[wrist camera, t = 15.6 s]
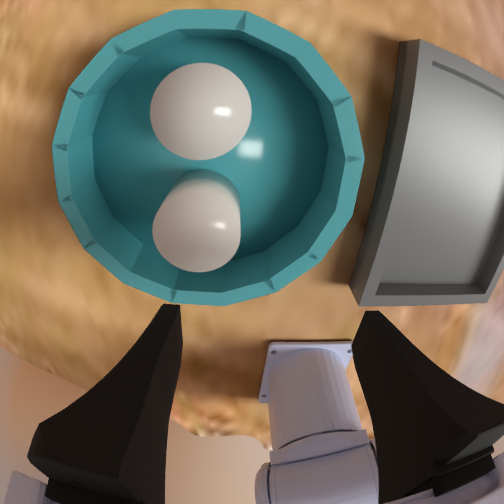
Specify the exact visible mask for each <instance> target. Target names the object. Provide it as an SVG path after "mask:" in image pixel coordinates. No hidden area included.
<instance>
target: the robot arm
mask: <svg viewBox="0 0 504 504" xmlns="http://www.w3.org/2000/svg"><path fill="white" fill-rule="evenodd" d="M182 346H183V338H182V326H181V313H180V305H173V304H163V305H162V306H161V307H160V309H159V310H158V312H157V314H156V315H155V317H154V318H153V320H152V321H151V323H150V324H149V325H148V327H147V328H146V330H145V331H144V332H143V334H142V335H141V336H140V338H139V339H138V340H137V342H136V343H135V344H134V345H133V346H132V348H131V349H130V350H129V351H128V352H127V354H126V355H125V356H124V357H123V358H122V359H121V361H120V362H119V363H118V364H117V365H116V366H115V367H114V368H113V369H112V370H111V371H110V372H109V373H108V374H107V375H106V376H105V377H104V378H103V379H102V380H100V381H99V382H98V383H97V384H96V385H95V386H94V387H93V388H91V389H90V390H89V391H88V392H87V393H85V394H84V395H83V396H81V397H80V398H79V399H77V400H76V401H75V402H73V403H72V404H71V405H69V406H68V407H66V408H65V409H63V410H62V411H60V412H58V413H57V414H55V415H53V416H52V417H50V418H48V419H47V420H45V421H43V422H41V423H40V424H39V425H38V427H37V429H36V431H35V434H34V436H33V439H32V442H31V445H30V448H29V452H28V455H27V457H28V459H29V461H30V462H31V463H32V464H33V465H34V466H35V467H36V468H37V469H38V470H40V471H41V472H42V473H43V474H45V475H46V476H47V477H49V480H48V485H47V484H45V483H43V482H41V481H39V480H37V479H34V478H32V477H29V476H27V475H25V474H22V473H20V472H18V471H16V470H13V471H12V474H11V478H10V481H9V485H8V489H7V493H6V497H5V501H4V504H165V467H166V449H167V436H168V424H169V418H170V412H171V407H172V403H173V398H174V393H175V389H176V384H177V379H178V375H179V370H180V365H181V356H182ZM349 349H350V350H349ZM274 350H275V351H274ZM352 355H353V359H354V364H355V369H356V372H357V375H358V378H359V381H360V384H361V387H362V390H363V393H364V396H365V399H366V402H367V406H368V409H369V412H370V416H371V420H372V425H373V431H374V437H375V438H372V439H370V440H369V438H368V435H367V431H366V430H365V429H364V430H363V429H362V426H361V422H360V419H359V415H358V412H357V408H356V404H355V401H354V398H353V394H352V391H351V387H350V384H349V381H348V377H347V374H346V371H345V370H346V368H347V366H348V364H349V361H350V359H351V357H352ZM258 401H259V402H260V403H268V407H269V419H270V430H271V442H272V449H273V451H270V462H268V463H264V464H263V465H262V466H261V468H260V470H259V471H258V473H257V474H256V479H255V499H256V504H504V452H503V453H501V454H500V455H498V456H496V457H495V458H493V459H492V456H491V454H492V453H493V452H494V448H493V446H492V445H493V444H494V443H495V442H496V441H497V440H498V439H499V438H501V437H502V436H503V435H504V404H502V403H499V402H497V401H495V400H492V399H490V398H488V397H485V396H484V395H482V394H480V393H478V392H476V391H474V390H472V389H470V388H469V387H467V386H465V385H464V384H462V383H461V382H459V381H458V380H456V379H455V378H453V377H452V376H450V375H449V374H448V373H446V372H445V371H444V370H442V369H441V368H440V367H438V366H437V365H436V364H435V363H433V362H432V361H431V360H430V359H429V358H428V357H427V356H425V355H424V354H423V353H422V352H421V351H420V350H419V349H418V348H417V347H416V346H414V345H413V344H412V343H411V342H410V341H409V340H408V339H407V338H406V337H405V336H404V335H403V334H402V333H401V332H400V331H399V330H398V329H397V328H396V327H395V326H394V325H393V324H392V323H391V322H390V321H389V320H388V319H387V318H386V317H385V316H384V315H383V314H382V313H381V312H379V311H365V313H364V316H363V318H362V321H361V323H360V326H359V328H358V331H357V333H356V335H355V338H354V340H353V341H335V342H272V343H270V344H269V346H268V351H267V357H266V362H265V367H264V372H263V377H262V382H261V387H260V392H259V397H258Z"/></svg>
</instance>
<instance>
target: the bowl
mask: <svg viewBox="0 0 504 504" xmlns="http://www.w3.org/2000/svg"><path fill="white" fill-rule="evenodd" d="M194 63H211V64H216V65H219V66H221V67H224V68H226V69H228V70H229V71H231V72H232V73H234V74H235V75H236V76H237V77H238V78H239V79H240V80H241V81H242V83H243V84H244V86H245V87H246V89H247V91H248V94H249V96H250V100H251V107H252V112H251V120H250V124H249V127H248V129H247V131H246V133H245V135H244V137H243V138H242V140H241V141H240V142H239V143H238V144H237V145H236V146H235V147H234V148H233V149H231V150H230V151H229V152H227V153H225V154H223V155H221V156H219V157H216V158H212V159H207V160H191V159H187V158H183V157H180V156H178V155H176V154H174V153H172V152H171V151H169V150H168V149H167V148H166V147H165V146H163V144H162V143H161V142H160V141H159V139H158V138H157V136H156V135H155V133H154V130H153V128H152V124H151V119H150V106H151V101H152V98H153V95H154V93H155V91H156V89H157V87H158V86H159V84H160V83H161V82H162V81H163V79H164V78H165V77H166V76H168V75H169V74H170V73H171V72H173V71H175V70H176V69H178V68H180V67H183V66H185V65H189V64H194ZM52 154H53V164H54V174H55V182H56V189H57V196H58V202H59V204H60V206H61V208H62V210H63V211H64V213H65V215H66V217H67V219H68V221H69V223H70V225H71V227H72V228H73V230H74V232H75V234H76V236H77V237H78V239H79V241H80V243H81V244H82V246H83V248H84V249H85V250H86V251H87V252H88V253H89V254H90V255H92V256H93V257H94V258H95V259H96V260H97V261H98V262H99V263H101V264H102V265H103V266H104V267H105V268H106V269H107V270H109V271H110V272H111V273H112V274H113V275H114V276H116V277H117V278H118V279H119V280H120V281H121V282H123V283H124V284H127V285H129V286H131V287H134V288H136V289H139V290H141V291H144V292H146V293H148V294H151V295H153V296H156V297H158V298H161V299H164V300H166V301H169V302H171V303H182V304H197V305H214V306H226V305H230V304H234V303H238V302H242V301H245V300H249V299H253V298H257V297H260V296H264V295H268V294H271V293H275V292H277V291H278V290H280V289H281V288H283V287H284V286H286V285H287V284H289V283H290V282H292V281H293V280H295V279H296V278H298V277H299V276H301V275H302V274H303V273H305V272H306V271H308V270H309V269H311V268H312V267H314V266H315V265H317V264H318V263H319V262H321V260H322V259H323V257H324V256H325V255H326V253H327V252H328V250H329V249H330V248H331V246H332V245H333V243H334V242H335V240H336V239H337V238H338V236H339V235H340V233H341V232H342V230H343V229H344V227H345V226H346V224H347V223H348V222H349V220H350V219H351V217H352V215H353V211H354V207H355V202H356V198H357V193H358V189H359V184H360V179H361V175H362V170H363V165H364V160H365V157H364V151H363V146H362V141H361V136H360V131H359V127H358V122H357V118H356V113H355V109H354V105H353V101H352V96H351V95H350V94H349V92H348V91H347V89H346V88H345V87H344V85H343V84H342V83H341V81H340V80H339V79H338V77H337V76H336V75H335V73H334V72H333V71H332V69H331V68H330V67H329V65H328V64H327V63H326V62H325V60H324V59H323V58H322V57H321V55H320V54H319V53H318V52H317V50H316V49H315V48H314V47H313V46H312V44H311V43H310V42H308V41H306V40H304V39H303V38H301V37H299V36H297V35H295V34H293V33H291V32H289V31H288V30H286V29H284V28H282V27H280V26H278V25H276V24H274V23H272V22H270V21H267V20H265V19H263V18H261V17H259V16H257V15H254V14H252V13H250V12H248V11H241V10H219V9H185V10H173V11H170V12H168V13H165V14H163V15H160V16H158V17H156V18H153V19H151V20H149V21H146V22H144V23H142V24H140V25H138V26H136V27H133V28H131V29H129V30H127V31H125V32H123V33H121V34H119V35H117V36H115V37H113V38H112V39H110V41H109V42H108V43H107V44H106V45H105V46H104V47H103V48H102V49H101V50H100V51H99V52H98V53H97V55H96V56H95V57H94V58H93V59H92V60H91V61H90V63H89V64H88V65H87V66H86V67H85V68H84V70H83V71H82V72H81V73H80V75H79V76H78V77H77V78H76V79H75V81H74V82H73V83H72V85H71V86H70V87H69V89H68V92H67V95H66V98H65V101H64V104H63V107H62V110H61V114H60V117H59V120H58V124H57V128H56V131H55V135H54V139H53V143H52ZM200 169H206V170H213V171H216V172H219V173H221V174H223V175H224V176H226V177H227V178H228V179H229V180H230V181H231V182H232V183H233V184H234V186H235V187H236V189H237V191H238V194H239V197H240V225H241V237H240V243H239V247H238V249H237V251H236V253H235V254H234V256H233V257H232V258H231V259H230V260H229V261H228V262H227V263H226V264H224V265H223V266H221V267H219V268H217V269H215V270H211V271H207V272H191V271H186V270H183V269H180V268H178V267H176V266H174V265H172V264H171V263H169V262H168V261H167V260H166V259H165V258H164V257H163V256H162V255H161V254H160V252H159V251H158V249H157V247H156V245H155V242H154V239H153V232H152V228H153V222H154V218H155V216H156V214H157V212H158V210H159V208H160V207H161V205H162V203H163V201H164V200H165V198H166V196H167V195H168V193H169V191H170V190H171V188H172V186H173V185H174V183H175V182H176V181H177V180H178V179H179V178H180V177H181V176H183V175H184V174H186V173H188V172H191V171H194V170H200Z"/></svg>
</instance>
